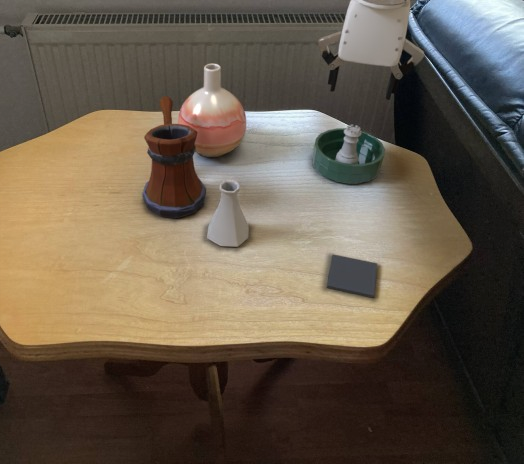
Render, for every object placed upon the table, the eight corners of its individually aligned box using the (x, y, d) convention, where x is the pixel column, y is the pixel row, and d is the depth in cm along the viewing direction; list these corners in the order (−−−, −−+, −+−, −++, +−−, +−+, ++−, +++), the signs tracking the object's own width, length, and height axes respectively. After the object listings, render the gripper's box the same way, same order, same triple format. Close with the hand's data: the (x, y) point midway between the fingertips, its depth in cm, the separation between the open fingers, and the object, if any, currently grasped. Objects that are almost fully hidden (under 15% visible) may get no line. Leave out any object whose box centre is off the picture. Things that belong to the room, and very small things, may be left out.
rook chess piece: (357, 158, 102) (365, 122, 97) (357, 171, 99) (366, 135, 94) (334, 156, 103) (341, 120, 98) (334, 168, 100) (341, 132, 94)
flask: (199, 241, 85) (199, 193, 78) (216, 215, 90) (216, 168, 83) (240, 253, 83) (243, 205, 76) (255, 225, 88) (259, 178, 81)
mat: (376, 265, 81) (377, 263, 81) (373, 298, 76) (374, 295, 76) (332, 256, 82) (332, 254, 82) (326, 288, 77) (327, 285, 77)
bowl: (381, 153, 105) (386, 134, 102) (377, 191, 95) (383, 171, 92) (316, 142, 107) (319, 124, 104) (307, 178, 98) (310, 159, 95)
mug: (140, 163, 101) (133, 93, 91) (198, 159, 103) (197, 89, 93) (144, 222, 88) (135, 148, 78) (210, 217, 89) (210, 143, 79)
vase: (248, 166, 101) (254, 82, 89) (179, 168, 100) (175, 84, 88) (241, 130, 111) (245, 50, 99) (178, 132, 110) (174, 52, 98)
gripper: (440, -11, 80) (410, 90, 92) (330, -23, 84) (314, 76, 95) (442, 5, 75) (410, 110, 87) (324, -8, 78) (308, 94, 90)
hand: (360, 92), depth 91 cm, fingers open, 9 cm apart
